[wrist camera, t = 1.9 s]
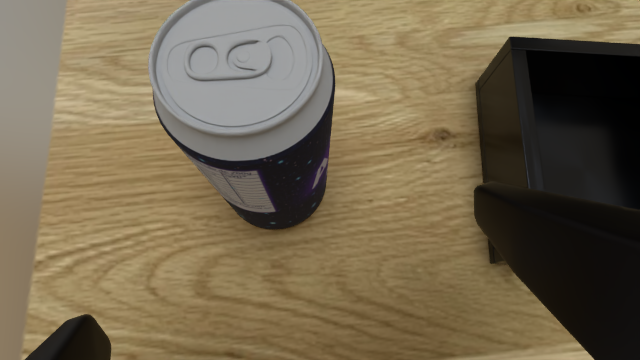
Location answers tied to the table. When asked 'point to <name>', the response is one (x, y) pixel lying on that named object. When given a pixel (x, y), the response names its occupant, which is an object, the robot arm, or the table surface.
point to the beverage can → (248, 103)
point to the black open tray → (562, 120)
